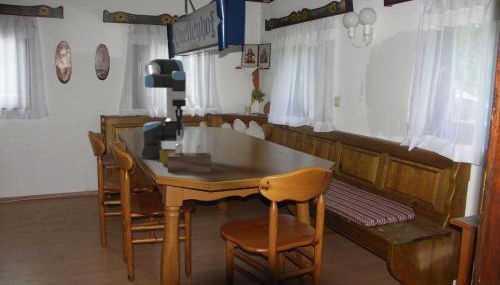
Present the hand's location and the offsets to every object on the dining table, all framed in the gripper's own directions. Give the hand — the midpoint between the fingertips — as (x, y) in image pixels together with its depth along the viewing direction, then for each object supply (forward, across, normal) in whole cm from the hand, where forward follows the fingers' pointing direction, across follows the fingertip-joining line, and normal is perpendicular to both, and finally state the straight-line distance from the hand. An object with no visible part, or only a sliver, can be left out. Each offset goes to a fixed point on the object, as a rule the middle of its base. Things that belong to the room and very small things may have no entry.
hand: (179, 141), depth 235 cm
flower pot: (+17, -16, -7) cm, 24 cm away
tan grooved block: (+17, 0, +6) cm, 18 cm away
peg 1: (+11, 0, 0) cm, 11 cm away
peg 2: (+11, 0, +12) cm, 16 cm away
